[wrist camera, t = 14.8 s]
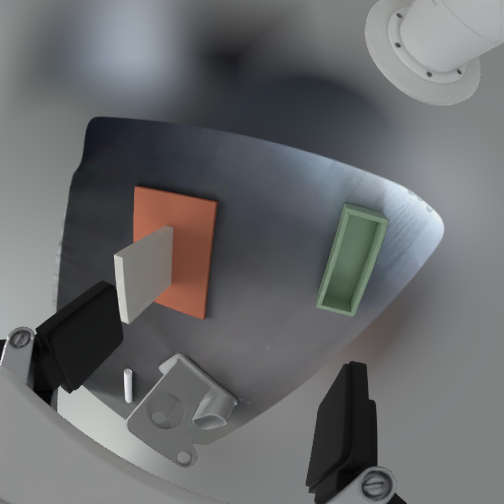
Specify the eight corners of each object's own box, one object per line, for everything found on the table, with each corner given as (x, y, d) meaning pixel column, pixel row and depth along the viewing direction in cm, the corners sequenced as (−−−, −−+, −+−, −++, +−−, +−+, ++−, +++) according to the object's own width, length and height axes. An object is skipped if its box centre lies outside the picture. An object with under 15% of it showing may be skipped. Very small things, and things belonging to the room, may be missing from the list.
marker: (133, 402, 67) (129, 407, 64) (127, 398, 67) (123, 403, 65) (133, 371, 59) (128, 377, 57) (126, 366, 59) (122, 372, 57)
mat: (137, 185, 39) (134, 186, 38) (218, 201, 37) (216, 202, 36) (138, 292, 47) (135, 294, 47) (205, 317, 45) (203, 320, 44)
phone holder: (241, 402, 52) (213, 470, 36) (213, 412, 56) (184, 471, 40) (180, 351, 50) (133, 417, 34) (158, 366, 54) (115, 422, 38)
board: (165, 225, 39) (113, 254, 29) (173, 227, 39) (122, 257, 28) (164, 281, 43) (120, 320, 33) (171, 284, 43) (128, 324, 32)
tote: (344, 201, 32) (346, 207, 29) (383, 213, 31) (389, 220, 28) (317, 294, 38) (315, 307, 35) (352, 303, 37) (353, 317, 34)
